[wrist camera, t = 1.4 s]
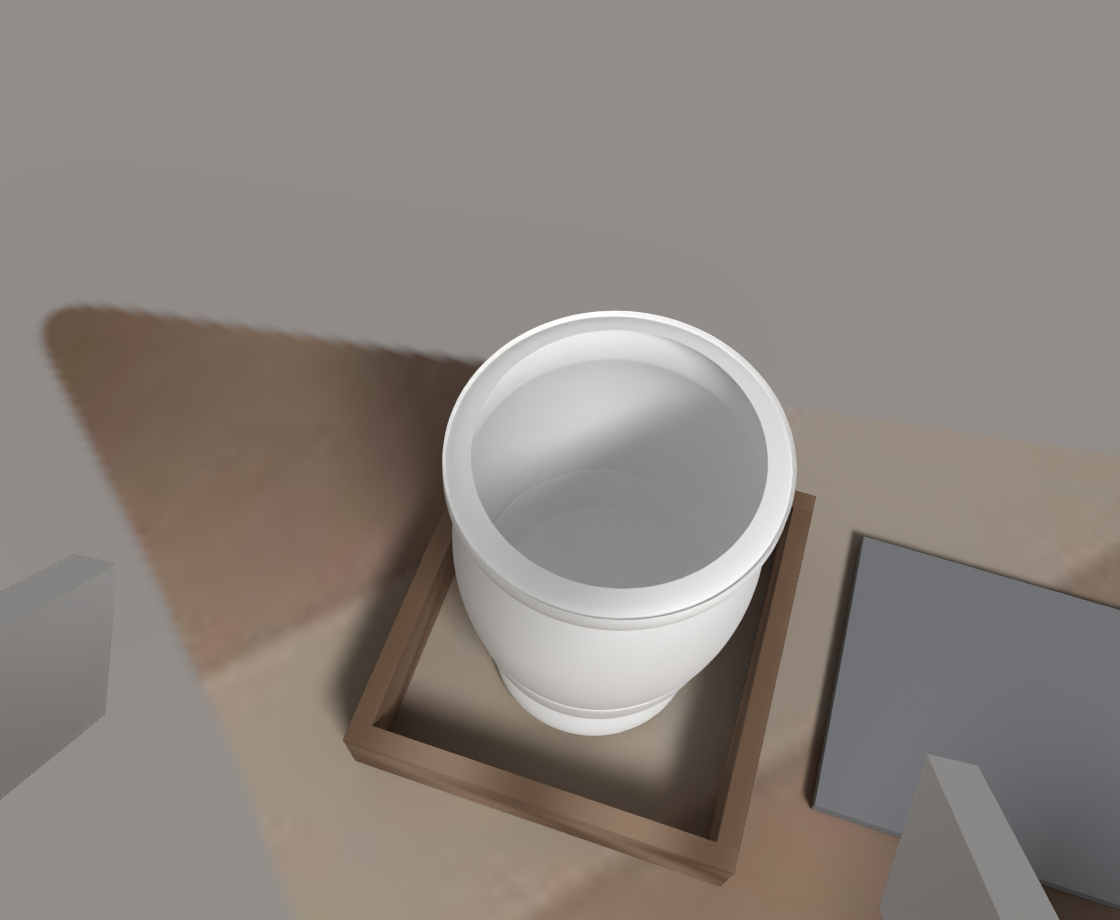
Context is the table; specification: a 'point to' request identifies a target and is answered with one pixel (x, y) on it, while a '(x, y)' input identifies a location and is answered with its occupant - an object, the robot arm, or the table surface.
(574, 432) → the jar
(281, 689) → the table surface
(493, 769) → the collar
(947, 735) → the pad
